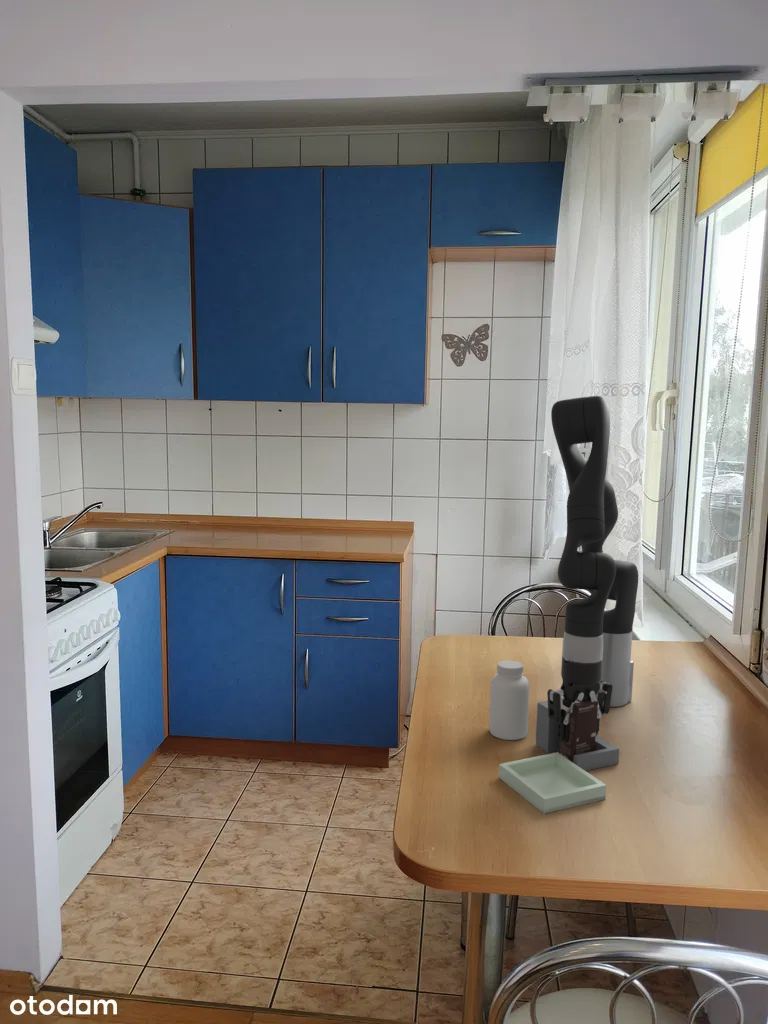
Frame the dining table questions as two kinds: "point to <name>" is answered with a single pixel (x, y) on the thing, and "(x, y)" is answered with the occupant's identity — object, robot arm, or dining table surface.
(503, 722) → the pill bottle
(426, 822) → the dining table surface
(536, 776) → the tray
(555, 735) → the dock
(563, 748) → the box
